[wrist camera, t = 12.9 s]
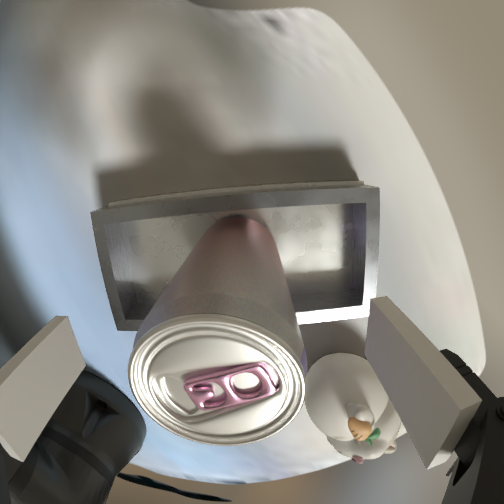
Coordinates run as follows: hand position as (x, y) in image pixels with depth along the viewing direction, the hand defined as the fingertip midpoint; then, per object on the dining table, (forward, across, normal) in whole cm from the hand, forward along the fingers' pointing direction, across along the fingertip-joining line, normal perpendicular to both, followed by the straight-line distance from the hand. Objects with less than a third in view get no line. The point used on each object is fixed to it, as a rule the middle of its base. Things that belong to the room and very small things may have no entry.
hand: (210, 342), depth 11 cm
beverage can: (+12, +1, 0) cm, 12 cm away
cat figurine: (+13, +11, -16) cm, 23 cm away
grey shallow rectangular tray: (+13, +1, 0) cm, 13 cm away
